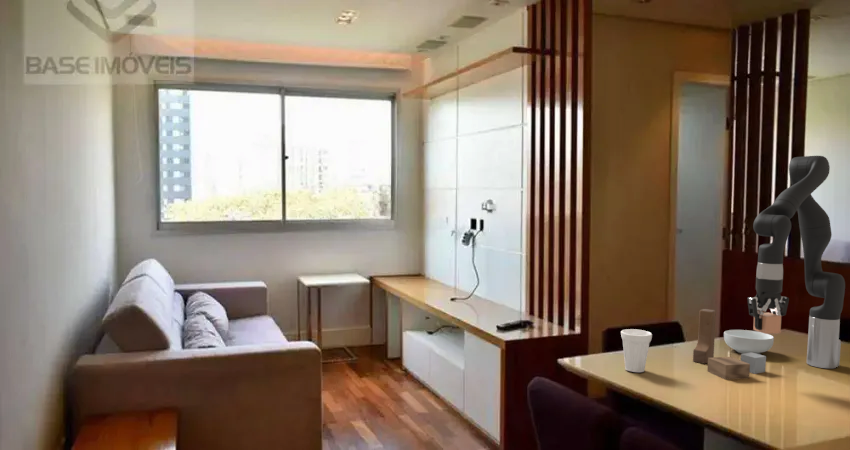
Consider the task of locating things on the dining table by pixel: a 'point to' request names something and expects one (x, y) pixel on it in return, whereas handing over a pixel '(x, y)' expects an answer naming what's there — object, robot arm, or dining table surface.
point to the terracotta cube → (770, 323)
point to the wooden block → (705, 336)
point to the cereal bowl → (748, 341)
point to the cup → (635, 348)
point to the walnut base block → (728, 368)
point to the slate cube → (754, 362)
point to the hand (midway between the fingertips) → (766, 328)
